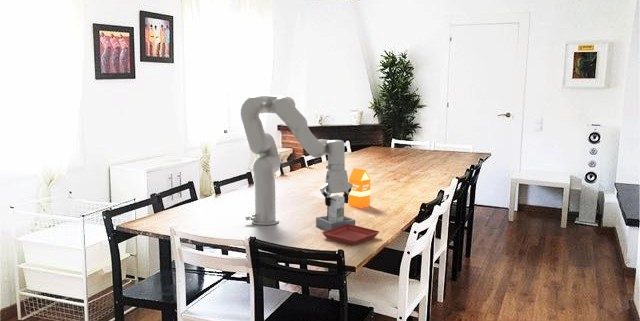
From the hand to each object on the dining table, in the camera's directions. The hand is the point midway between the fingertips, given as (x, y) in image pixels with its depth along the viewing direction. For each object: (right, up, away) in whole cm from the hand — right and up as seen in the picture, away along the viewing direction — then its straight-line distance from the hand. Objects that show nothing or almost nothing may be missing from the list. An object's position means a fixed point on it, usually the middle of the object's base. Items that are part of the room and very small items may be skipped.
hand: (336, 204), depth 248 cm
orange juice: (+13, -5, +45) cm, 47 cm away
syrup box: (-1, -11, +2) cm, 11 cm away
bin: (-1, -11, +2) cm, 11 cm away
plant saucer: (+5, -14, -15) cm, 21 cm away
